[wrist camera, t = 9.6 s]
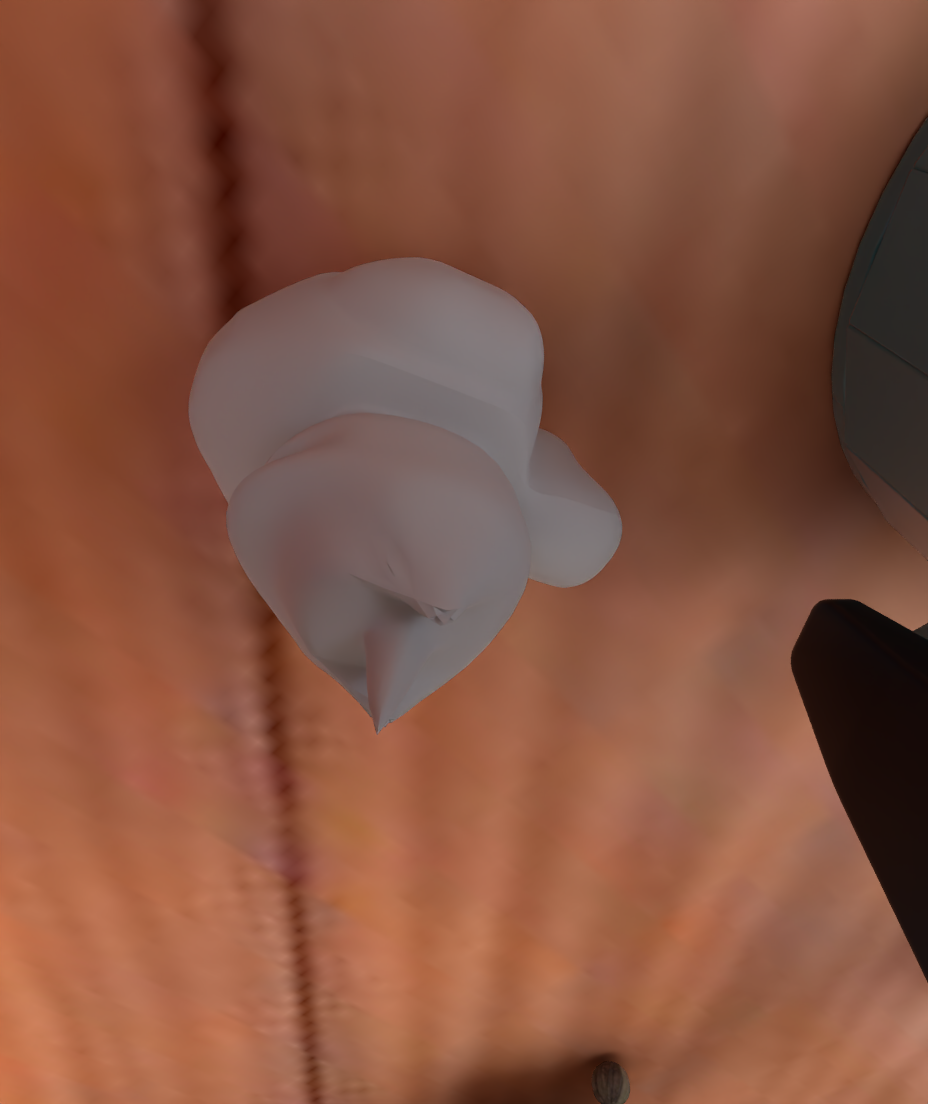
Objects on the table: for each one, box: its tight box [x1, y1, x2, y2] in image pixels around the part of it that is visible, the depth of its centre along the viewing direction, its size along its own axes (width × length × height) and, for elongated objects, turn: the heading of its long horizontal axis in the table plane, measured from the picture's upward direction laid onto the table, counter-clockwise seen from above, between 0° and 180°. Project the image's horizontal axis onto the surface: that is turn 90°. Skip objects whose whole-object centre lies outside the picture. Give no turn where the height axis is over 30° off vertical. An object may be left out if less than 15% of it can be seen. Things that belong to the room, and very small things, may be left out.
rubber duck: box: [189, 257, 622, 735], centre depth 10 cm, size 5×7×8 cm
